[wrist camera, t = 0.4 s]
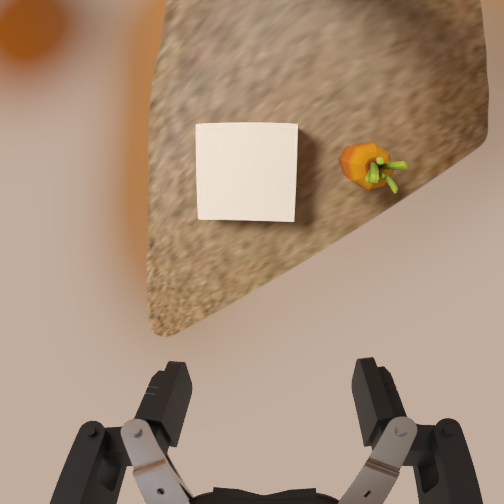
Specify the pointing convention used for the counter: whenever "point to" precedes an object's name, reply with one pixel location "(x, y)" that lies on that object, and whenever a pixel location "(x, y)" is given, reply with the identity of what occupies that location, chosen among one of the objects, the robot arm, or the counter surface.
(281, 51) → the counter surface
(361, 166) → the carrot
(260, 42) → the counter surface
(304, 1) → the counter surface
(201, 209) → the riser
